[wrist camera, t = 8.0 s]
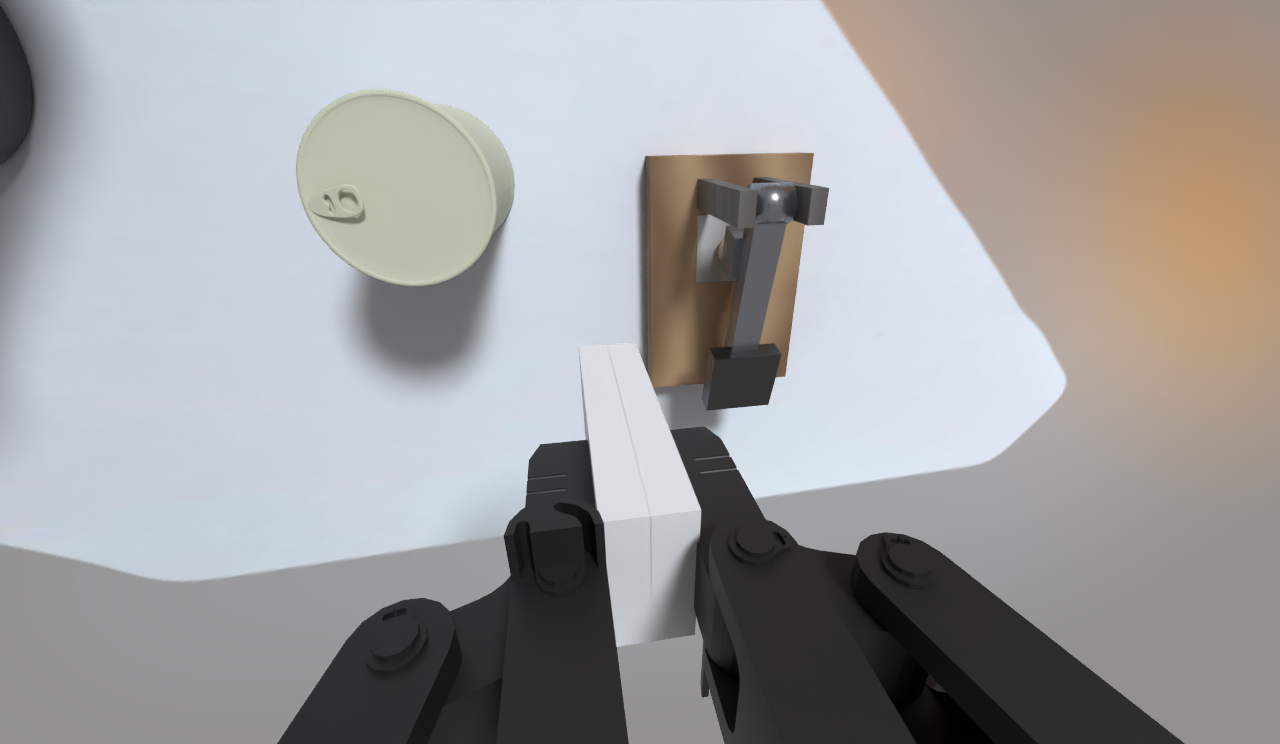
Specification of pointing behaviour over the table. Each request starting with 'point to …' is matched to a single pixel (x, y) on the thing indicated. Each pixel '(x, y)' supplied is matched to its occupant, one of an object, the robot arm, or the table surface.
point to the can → (403, 185)
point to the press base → (714, 254)
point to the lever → (750, 304)
